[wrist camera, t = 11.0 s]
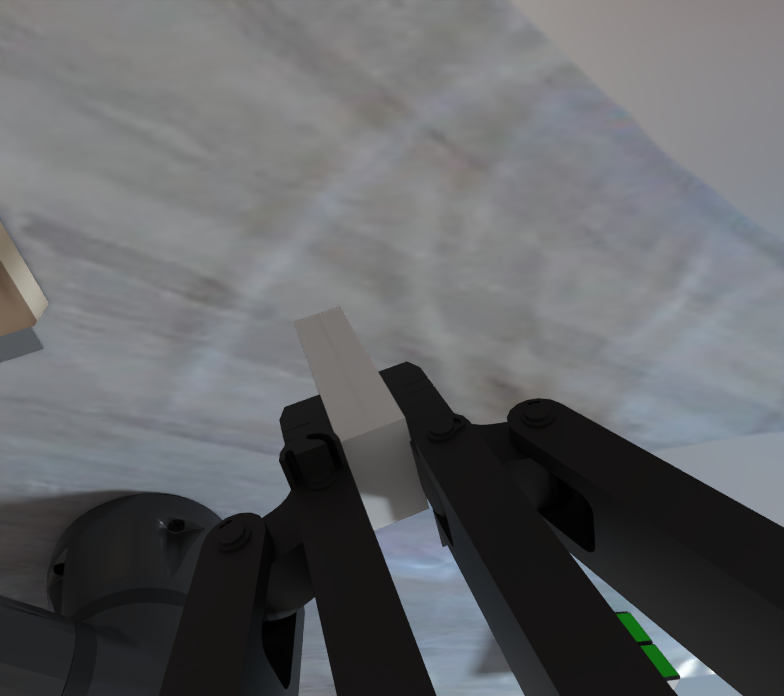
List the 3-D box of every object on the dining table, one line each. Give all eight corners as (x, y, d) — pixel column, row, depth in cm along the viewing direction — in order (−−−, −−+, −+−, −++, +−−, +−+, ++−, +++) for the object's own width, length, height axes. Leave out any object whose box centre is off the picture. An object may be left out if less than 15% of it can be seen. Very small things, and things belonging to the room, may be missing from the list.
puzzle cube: (545, 667, 79) (587, 741, 70) (572, 614, 75) (620, 685, 66) (602, 661, 82) (649, 730, 74) (630, 610, 79) (683, 677, 70)
